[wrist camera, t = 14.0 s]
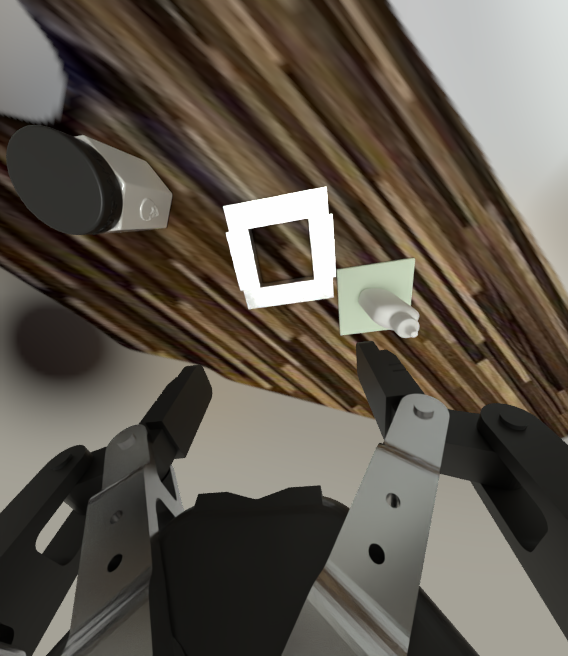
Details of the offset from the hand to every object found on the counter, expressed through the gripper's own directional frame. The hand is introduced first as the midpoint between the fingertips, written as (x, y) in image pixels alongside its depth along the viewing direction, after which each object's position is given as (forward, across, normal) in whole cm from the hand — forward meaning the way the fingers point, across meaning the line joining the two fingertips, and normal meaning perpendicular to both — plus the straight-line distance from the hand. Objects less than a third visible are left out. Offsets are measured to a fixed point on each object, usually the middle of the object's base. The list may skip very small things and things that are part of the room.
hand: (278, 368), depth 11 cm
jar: (+25, +18, -13) cm, 33 cm away
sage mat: (+24, -13, +7) cm, 28 cm away
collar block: (+24, 0, -2) cm, 25 cm away
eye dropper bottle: (+24, -13, +7) cm, 28 cm away
